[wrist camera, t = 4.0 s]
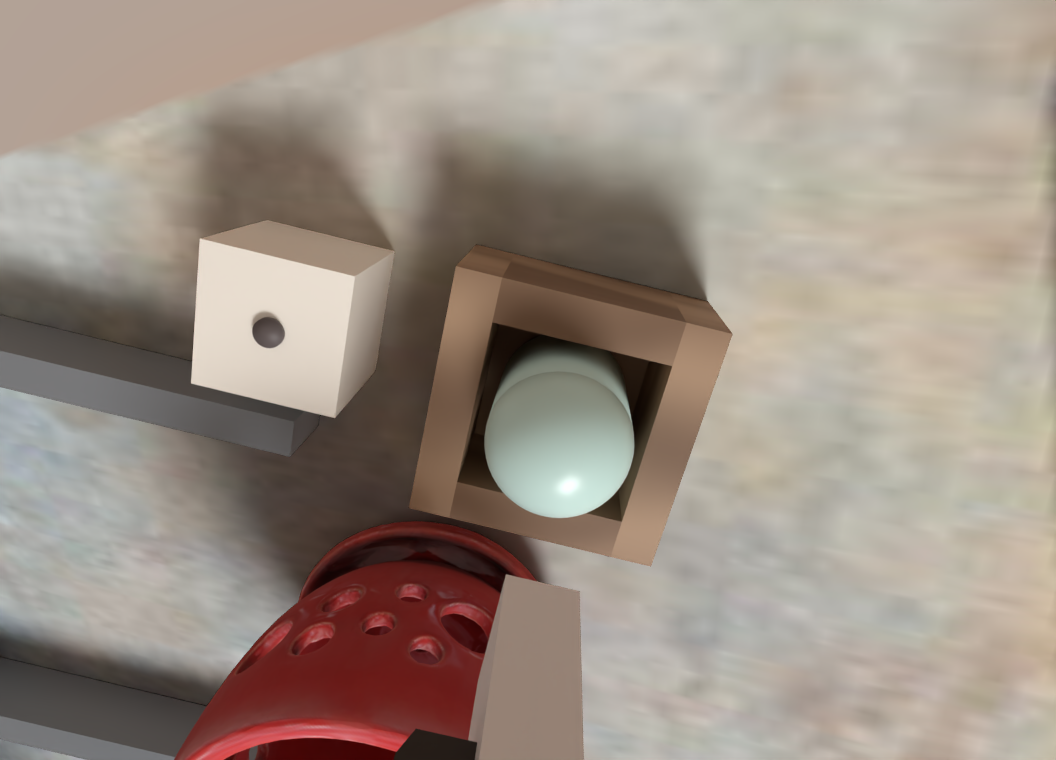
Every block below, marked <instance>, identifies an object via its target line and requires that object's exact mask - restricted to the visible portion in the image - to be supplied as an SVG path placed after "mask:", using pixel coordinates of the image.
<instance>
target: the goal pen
mask: <svg viewBox="0 0 1056 760" xmlns="http://www.w3.org/2000/svg"><path fill="white" fill-rule="evenodd" d="M191 375H192V361H188V360H184V359H180V358H175V357H171V356H167V355H163V354H159V353H155V352H151V351H147V350H142V349H138V348H134V347H130V346H126V345H122V344H118V343H114V342H110V341H105V340H101V339H97V338H93V337H89V336H85V335H81V334H77V333H72V332H68V331H64V330H60V329H56V328H52V327H48V326H44V325H39V324H35V323H31V322H27V321H23V320H19V319H15V318H11V317H6V316H2V315H0V387H2V388H6V389H11V390H15V391H19V392H23V393H27V394H31V395H35V396H40V397H44V398H48V399H52V400H56V401H60V402H64V403H69V404H73V405H77V406H81V407H85V408H89V409H93V410H98V411H102V412H106V413H110V414H114V415H118V416H122V417H127V418H131V419H135V420H139V421H143V422H147V423H151V424H156V425H160V426H164V427H168V428H172V429H176V430H180V431H185V432H189V433H193V434H197V435H201V436H205V437H209V438H214V439H218V440H222V441H226V442H230V443H234V444H238V445H243V446H247V447H251V448H255V449H259V450H263V451H267V452H272V453H276V454H280V455H284V456H288V457H290V456H291V455H292V454H293V453H294V452H295V451H296V450H297V449H298V447H299V446H300V445H301V444H302V443H303V442H304V441H305V440H306V439H307V437H308V436H309V435H310V434H311V433H312V432H313V431H314V430H315V429H316V427H317V426H318V424H319V417H320V414H315V413H311V412H307V411H303V410H299V409H295V408H291V407H286V406H282V405H278V404H274V403H270V402H266V401H262V400H258V399H253V398H249V397H245V396H241V395H237V394H233V393H229V392H224V391H220V390H216V389H212V388H208V387H204V386H200V385H196V384H191ZM206 707H207V706H203V705H199V704H195V703H191V702H187V701H182V700H178V699H174V698H170V697H166V696H161V695H157V694H153V693H149V692H145V691H140V690H136V689H132V688H128V687H123V686H119V685H115V684H111V683H107V682H102V681H98V680H94V679H90V678H86V677H81V676H77V675H73V674H69V673H64V672H60V671H56V670H52V669H48V668H43V667H39V666H35V665H31V664H27V663H22V662H18V661H14V660H10V659H5V658H1V657H0V739H2V740H6V741H10V742H14V743H19V744H23V745H27V746H31V747H36V748H40V749H44V750H48V751H53V752H57V753H61V754H65V755H69V756H74V757H78V758H82V759H86V760H174V759H175V757H176V755H177V753H178V752H179V750H180V748H181V747H182V745H183V743H184V742H185V740H186V738H187V736H188V735H189V733H190V732H191V730H192V728H193V727H194V725H195V724H196V722H197V721H198V719H199V717H200V716H201V714H202V713H203V711H204V710H205V708H206ZM257 748H258V745H257V746H254V747H251V748H250V751H249V760H255V758H256V754H257Z"/></svg>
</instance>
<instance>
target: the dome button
mask: <svg viewBox="0 0 1056 760" xmlns="http://www.w3.org/2000/svg"><path fill="white" fill-rule="evenodd" d="M484 448H485V455H486V460H487V464H488V468H489V470H490V472H491V474H492V477H493V478H494V480H495V482H496V483H497V485H498V487H499V488H500V489H501V490H502V492H503V493H504V494H505V495H506V496H507V497H508V498H509V499H510V500H512V501H513V502H514V503H516V504H517V505H518V506H520V507H522V508H523V509H525V510H527V511H529V512H532V513H534V514H537V515H540V516H545V517H551V518H569V517H575V516H579V515H582V514H585V513H588V512H590V511H592V510H594V509H596V508H597V507H599V506H601V505H602V504H604V503H605V502H606V501H608V500H609V499H610V498H611V497H612V496H613V495H614V494H615V493H616V492H617V490H618V489H619V488H620V486H621V485H622V484H623V482H624V480H625V478H626V477H627V475H628V472H629V470H630V467H631V464H632V459H633V455H634V431H633V425H632V420H631V414H630V409H629V403H628V397H627V392H626V386H625V381H624V376H623V373H622V370H621V368H620V366H619V364H618V362H617V361H616V359H615V358H614V356H613V355H612V354H611V353H610V352H609V351H608V350H604V349H600V348H596V347H592V346H588V345H583V344H579V343H575V342H571V341H567V340H563V339H559V338H555V337H551V336H547V335H541V336H538V337H536V338H534V339H532V340H530V341H528V342H527V343H525V344H524V345H522V346H521V347H520V348H519V349H518V350H517V351H516V352H515V353H514V354H513V355H512V356H511V358H510V360H509V361H508V363H507V365H506V367H505V369H504V371H503V374H502V377H501V381H500V384H499V387H498V390H497V393H496V396H495V399H494V402H493V405H492V408H491V411H490V414H489V418H488V421H487V424H486V430H485V437H484Z"/></svg>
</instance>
